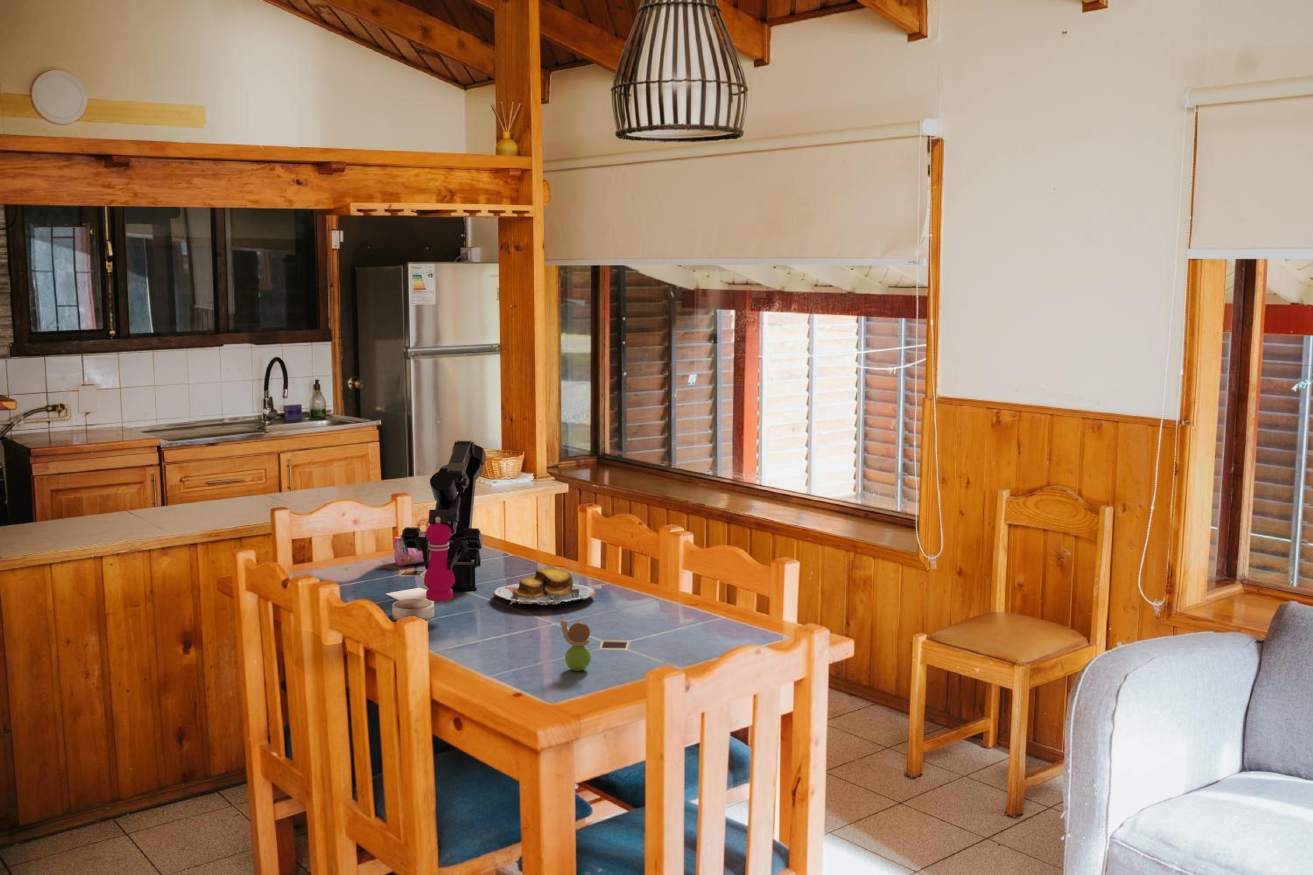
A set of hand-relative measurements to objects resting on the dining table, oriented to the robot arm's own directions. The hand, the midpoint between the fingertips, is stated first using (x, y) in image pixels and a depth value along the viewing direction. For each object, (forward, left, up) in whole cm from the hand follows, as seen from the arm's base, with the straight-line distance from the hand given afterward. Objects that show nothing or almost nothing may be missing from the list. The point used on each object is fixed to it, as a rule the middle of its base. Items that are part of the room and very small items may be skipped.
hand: (437, 568), depth 280 cm
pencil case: (-7, -62, -14) cm, 64 cm away
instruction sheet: (+2, -24, -13) cm, 28 cm away
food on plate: (-29, -13, -14) cm, 35 cm away
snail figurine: (-22, +43, -13) cm, 50 cm away
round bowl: (+5, -7, -13) cm, 16 cm away
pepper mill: (-1, -1, -8) cm, 8 cm away
